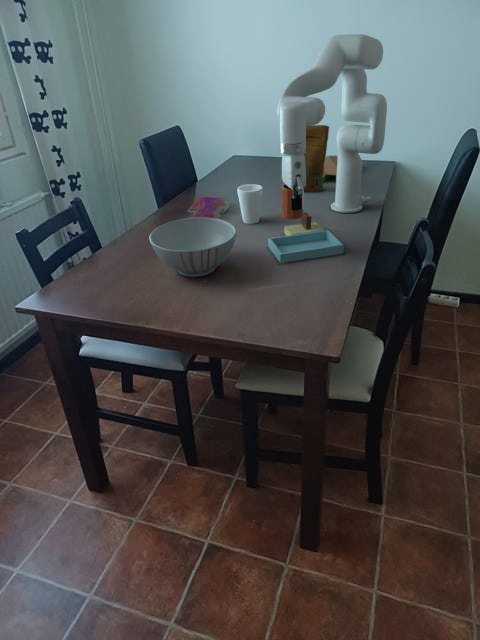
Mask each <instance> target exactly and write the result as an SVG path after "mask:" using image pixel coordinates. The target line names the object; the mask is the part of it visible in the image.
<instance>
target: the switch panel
mask: <svg viewBox="0 0 480 640" xmlns="http://www.w3.org/2000/svg"><path fill="white" fill-rule="evenodd" d="M317 231H324V228H323V227H322V226H320V224H318V223H317V221H313V222H312V221H311V229H308V230H306V229H305V228H304V227H303V226H302V225H301V223H299V224H291V225H285V226H284V228H283V232H284V236H289V235H296V234H303V233H310V232H317Z"/></svg>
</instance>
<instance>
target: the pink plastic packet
mask: <svg viewBox="0 0 480 640" xmlns="http://www.w3.org/2000/svg"><path fill="white" fill-rule="evenodd" d="M228 201H229V200H228V198H227V197H214V196H213V197H212V196H200V197H199V198H198V199H197V200H196V201H195V202H194V203H193V204H192V206H190V208H188V209H187V213H193V214H192V216H191V217H190V218H197V217H206V218H216V219H219V218H221V216H222V214H225V213H226V212H227V210H228V208H229V207H230V205H231V204H232V203H230V202H228ZM221 212H222V214H221Z"/></svg>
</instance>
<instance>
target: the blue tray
mask: <svg viewBox="0 0 480 640" xmlns="http://www.w3.org/2000/svg"><path fill="white" fill-rule="evenodd" d="M267 243H268V245H267V246H268V249H269V250H270V251H271V253H272V254H273V255H274V256H275V258H276V259H277V261H278V262H279V263H280V264H284V263H290V262H291V263H292V262H298V261H302V260H309V259H316V258H323V257H330V256H336V255H342V254H344V250H345V249H344V248H345V245H344V243H343V242H342V241H340V240H339V239H338V237H336V236H335V235H334V234H333V233H332V232H330V231H329V230H328V229H325V230H324V231H317V232H310V233H303V234H296V235H289V236H286V235H284V236H283V235H282V236H276V237H269V238H267Z"/></svg>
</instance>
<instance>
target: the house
mask: <svg viewBox="0 0 480 640" xmlns="http://www.w3.org/2000/svg"><path fill="white" fill-rule="evenodd" d="M337 159H338V155H326V157H325V161H324V172H323V178H322V182H325V181H327V180H328V179H329V178H330V179H331V178H332V179H334V176H337Z"/></svg>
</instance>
